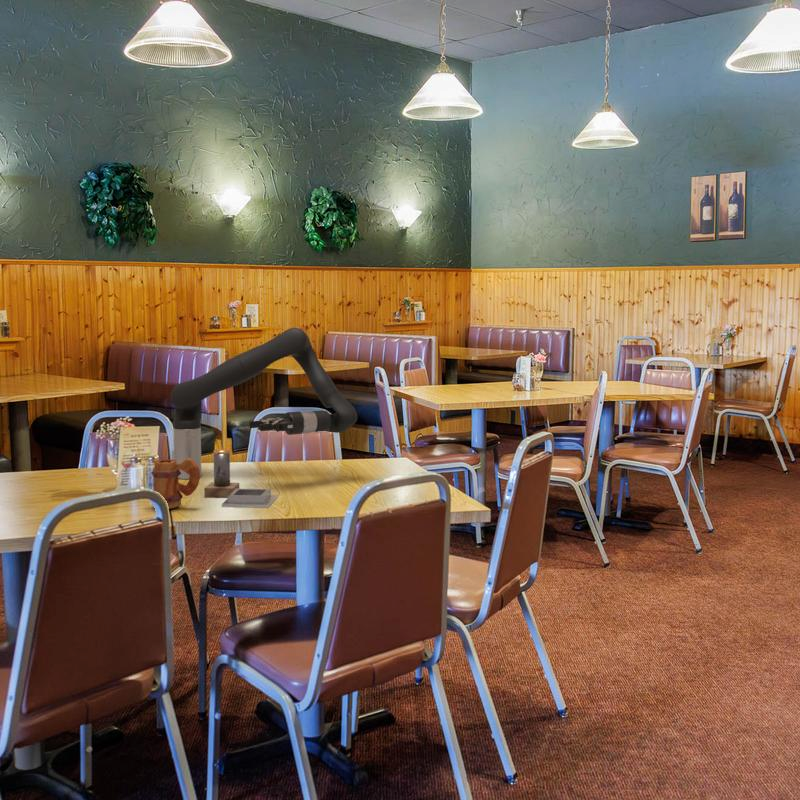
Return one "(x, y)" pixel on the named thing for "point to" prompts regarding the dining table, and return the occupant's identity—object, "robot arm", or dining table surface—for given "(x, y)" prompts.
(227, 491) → the stand
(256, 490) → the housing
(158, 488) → the mug
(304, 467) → the dining table surface
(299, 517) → the dining table surface
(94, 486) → the dining table surface
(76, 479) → the dining table surface
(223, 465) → the grey metal cylinder
